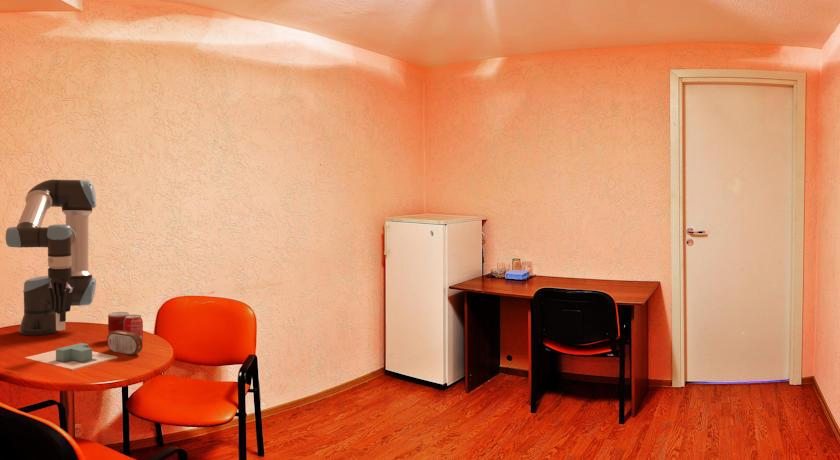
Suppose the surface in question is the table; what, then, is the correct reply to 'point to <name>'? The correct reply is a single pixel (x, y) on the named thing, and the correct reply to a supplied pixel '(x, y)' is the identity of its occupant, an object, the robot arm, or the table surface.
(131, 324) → the soda can
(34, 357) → the mat
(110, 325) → the canned food
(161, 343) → the table surface
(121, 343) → the tin
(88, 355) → the t block
